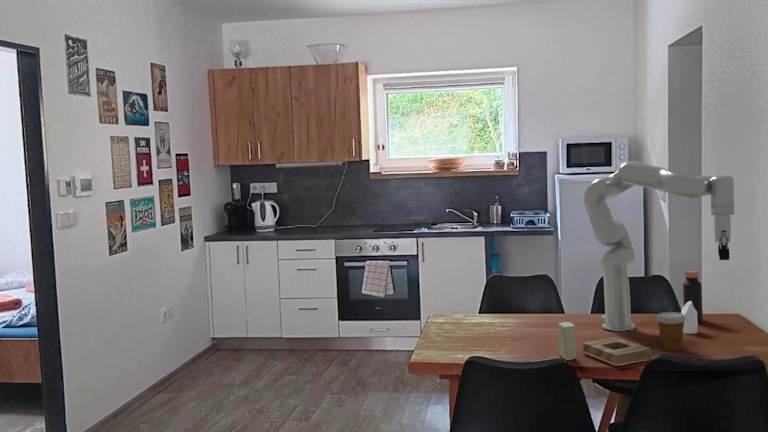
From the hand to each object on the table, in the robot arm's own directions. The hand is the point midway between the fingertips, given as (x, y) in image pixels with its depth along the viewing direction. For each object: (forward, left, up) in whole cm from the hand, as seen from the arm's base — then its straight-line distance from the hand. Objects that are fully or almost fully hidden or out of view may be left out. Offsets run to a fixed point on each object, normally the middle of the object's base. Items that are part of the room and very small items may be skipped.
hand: (723, 257), depth 259 cm
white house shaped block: (-13, -4, -30) cm, 33 cm away
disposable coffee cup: (0, -24, -30) cm, 38 cm away
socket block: (-2, -46, -29) cm, 55 cm away
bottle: (-25, +9, -30) cm, 40 cm away
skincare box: (-10, -60, -30) cm, 68 cm away
